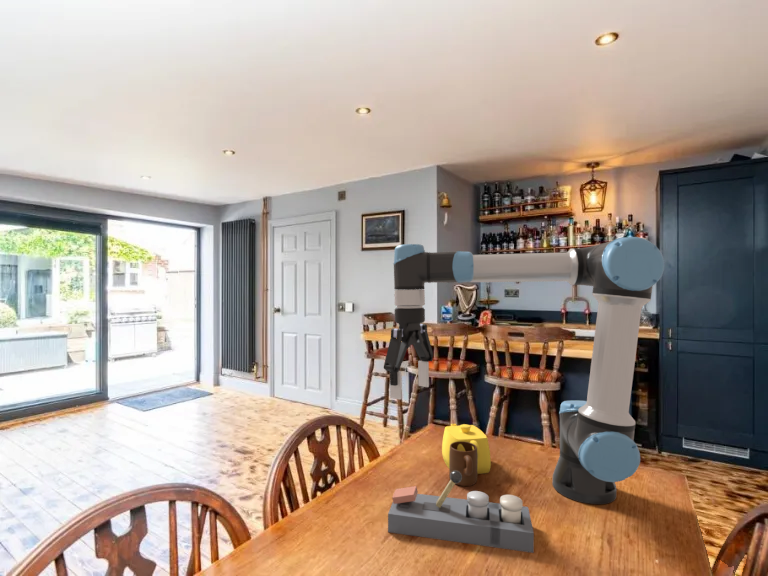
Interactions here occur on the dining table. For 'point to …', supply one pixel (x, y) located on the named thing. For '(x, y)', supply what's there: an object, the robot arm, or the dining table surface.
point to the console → (460, 523)
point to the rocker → (405, 495)
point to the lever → (449, 486)
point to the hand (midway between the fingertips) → (410, 392)
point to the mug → (464, 462)
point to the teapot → (472, 436)
